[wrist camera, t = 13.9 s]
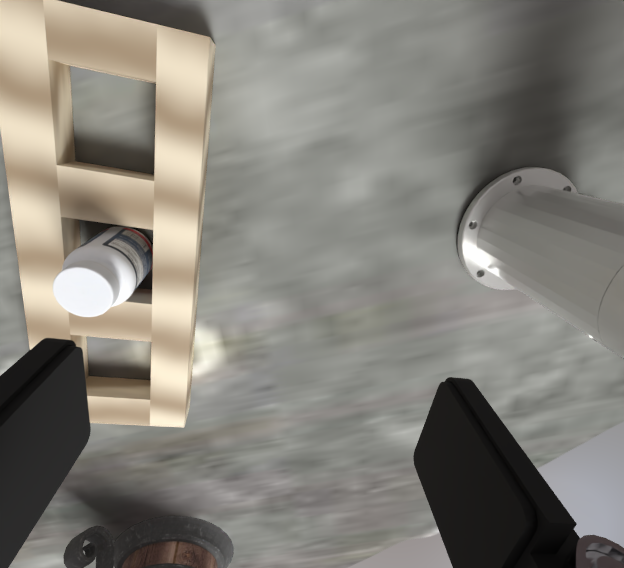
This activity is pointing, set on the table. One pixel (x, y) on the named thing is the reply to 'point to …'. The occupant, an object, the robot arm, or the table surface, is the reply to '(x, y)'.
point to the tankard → (154, 546)
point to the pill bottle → (103, 271)
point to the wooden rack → (108, 189)
